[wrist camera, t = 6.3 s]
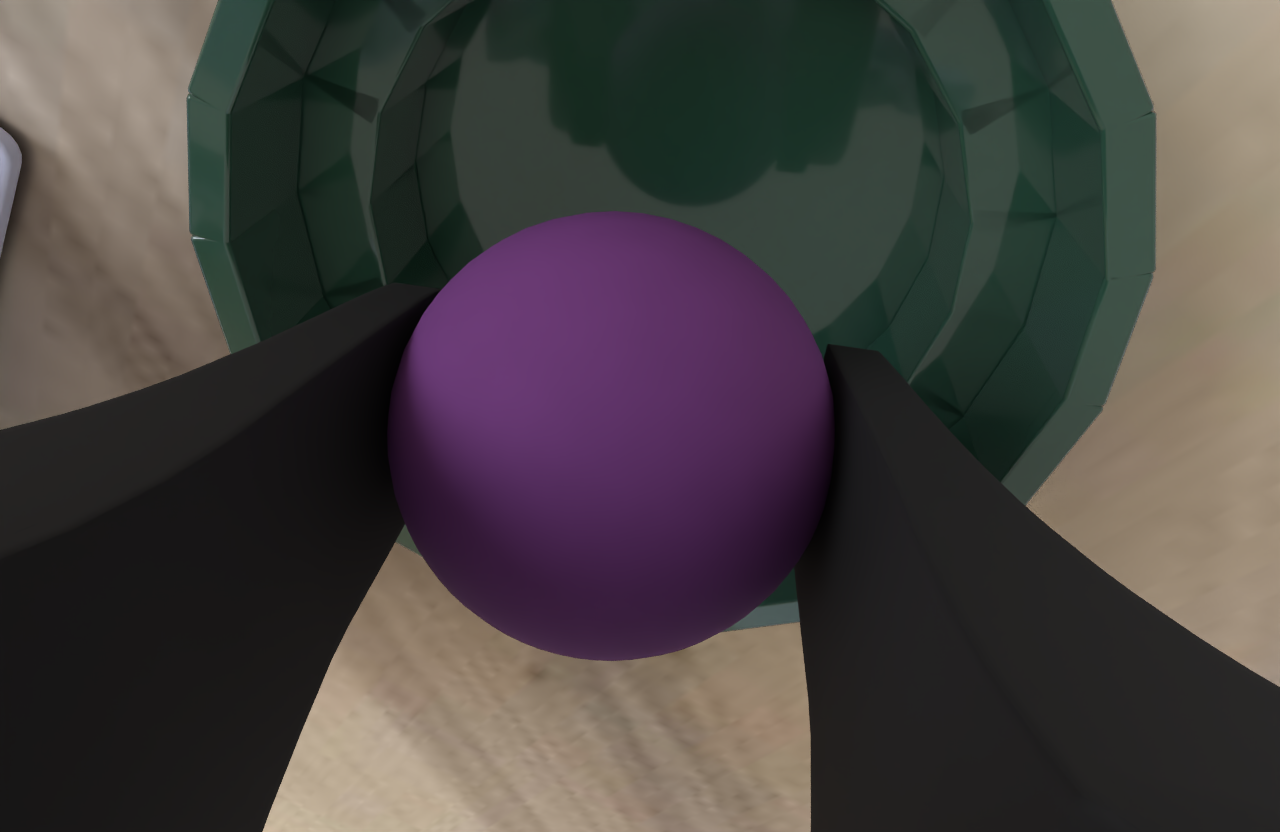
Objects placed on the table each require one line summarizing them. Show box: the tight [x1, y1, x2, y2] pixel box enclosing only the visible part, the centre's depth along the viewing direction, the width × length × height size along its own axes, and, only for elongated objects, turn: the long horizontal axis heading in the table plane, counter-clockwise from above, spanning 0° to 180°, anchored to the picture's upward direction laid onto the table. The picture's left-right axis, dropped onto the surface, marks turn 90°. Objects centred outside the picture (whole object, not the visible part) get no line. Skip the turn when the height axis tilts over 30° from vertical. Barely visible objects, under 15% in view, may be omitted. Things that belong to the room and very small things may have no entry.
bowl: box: [187, 0, 1157, 632], centre depth 14 cm, size 13×13×5 cm
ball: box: [387, 211, 835, 661], centre depth 9 cm, size 5×5×5 cm
